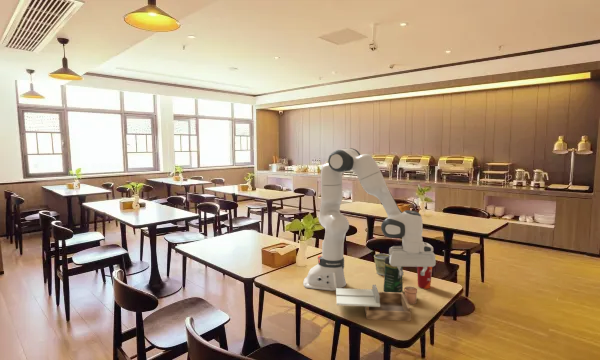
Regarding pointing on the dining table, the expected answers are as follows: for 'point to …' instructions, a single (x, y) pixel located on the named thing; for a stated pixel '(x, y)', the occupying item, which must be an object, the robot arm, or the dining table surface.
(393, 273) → the coffee jar
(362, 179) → the robot arm
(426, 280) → the coffee cup
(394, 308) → the wooden box
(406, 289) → the terracotta pot
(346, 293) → the lid
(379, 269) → the ceramic cup
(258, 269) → the dining table surface
